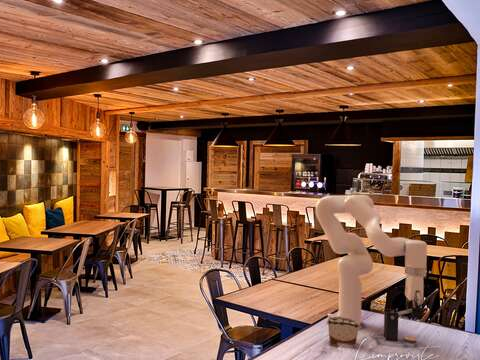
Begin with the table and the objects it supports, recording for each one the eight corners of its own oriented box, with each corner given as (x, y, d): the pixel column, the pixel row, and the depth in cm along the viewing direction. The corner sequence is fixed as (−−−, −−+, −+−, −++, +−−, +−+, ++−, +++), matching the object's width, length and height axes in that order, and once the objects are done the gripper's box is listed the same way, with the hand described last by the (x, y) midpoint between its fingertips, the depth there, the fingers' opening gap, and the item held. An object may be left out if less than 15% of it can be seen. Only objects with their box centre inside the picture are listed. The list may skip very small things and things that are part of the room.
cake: (404, 345, 185) (404, 338, 185) (402, 341, 190) (402, 334, 190) (417, 347, 184) (417, 340, 184) (414, 343, 188) (415, 336, 188)
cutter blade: (421, 310, 187) (418, 303, 187) (423, 312, 184) (420, 305, 184) (388, 319, 190) (385, 311, 191) (389, 321, 187) (386, 313, 188)
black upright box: (402, 340, 191) (402, 309, 191) (406, 347, 184) (407, 315, 183) (375, 337, 194) (376, 307, 194) (378, 344, 186) (379, 312, 186)
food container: (358, 343, 187) (359, 318, 187) (359, 348, 181) (360, 323, 181) (325, 339, 191) (326, 315, 191) (326, 344, 185) (326, 319, 185)
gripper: (400, 266, 195) (399, 307, 196) (409, 274, 179) (408, 319, 179) (420, 267, 193) (419, 309, 193) (431, 276, 177) (430, 322, 177)
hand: (414, 314), depth 186 cm, fingers open, 8 cm apart
